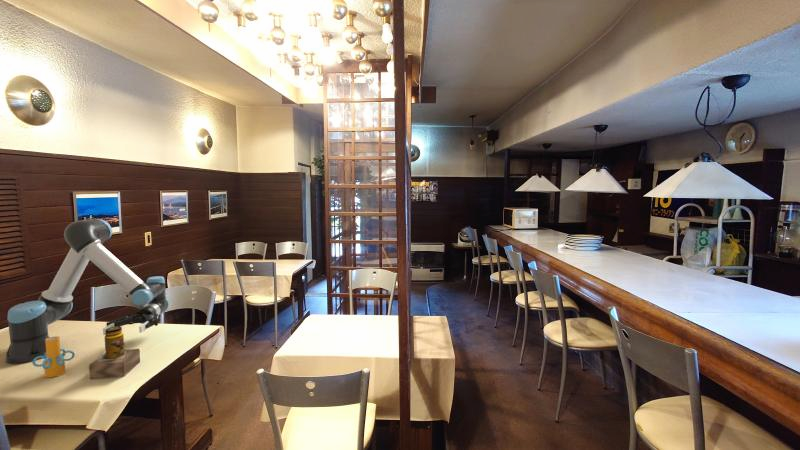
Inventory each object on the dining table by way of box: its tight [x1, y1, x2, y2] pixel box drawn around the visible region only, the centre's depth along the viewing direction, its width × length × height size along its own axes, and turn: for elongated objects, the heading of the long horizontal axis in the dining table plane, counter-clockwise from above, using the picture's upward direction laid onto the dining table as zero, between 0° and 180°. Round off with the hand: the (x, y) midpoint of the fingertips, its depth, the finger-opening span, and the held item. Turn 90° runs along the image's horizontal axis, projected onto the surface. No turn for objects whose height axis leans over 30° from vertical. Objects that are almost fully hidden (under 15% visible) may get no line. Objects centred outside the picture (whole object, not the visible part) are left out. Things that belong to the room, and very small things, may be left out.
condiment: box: [98, 326, 128, 362], centre depth 144 cm, size 7×8×12 cm
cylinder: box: [31, 335, 76, 378], centre depth 141 cm, size 12×10×15 cm
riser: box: [88, 348, 141, 380], centre depth 145 cm, size 12×12×6 cm
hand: (122, 330), depth 149 cm, fingers open, 13 cm apart
